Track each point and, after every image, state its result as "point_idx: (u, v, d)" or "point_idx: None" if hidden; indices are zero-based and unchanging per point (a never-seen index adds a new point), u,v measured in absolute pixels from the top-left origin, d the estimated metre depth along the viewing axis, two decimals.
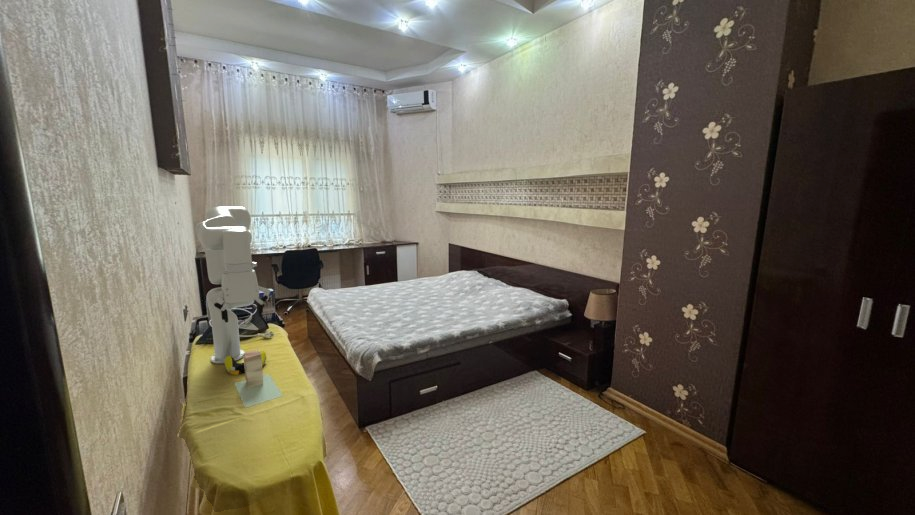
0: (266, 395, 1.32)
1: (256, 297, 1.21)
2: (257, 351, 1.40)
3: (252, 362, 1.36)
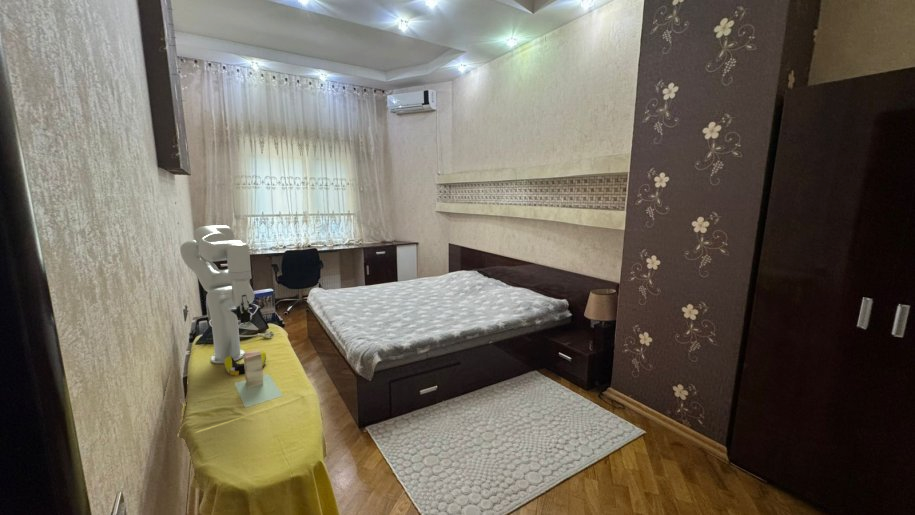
0: (266, 395, 1.32)
1: None
2: (257, 351, 1.40)
3: (252, 362, 1.36)
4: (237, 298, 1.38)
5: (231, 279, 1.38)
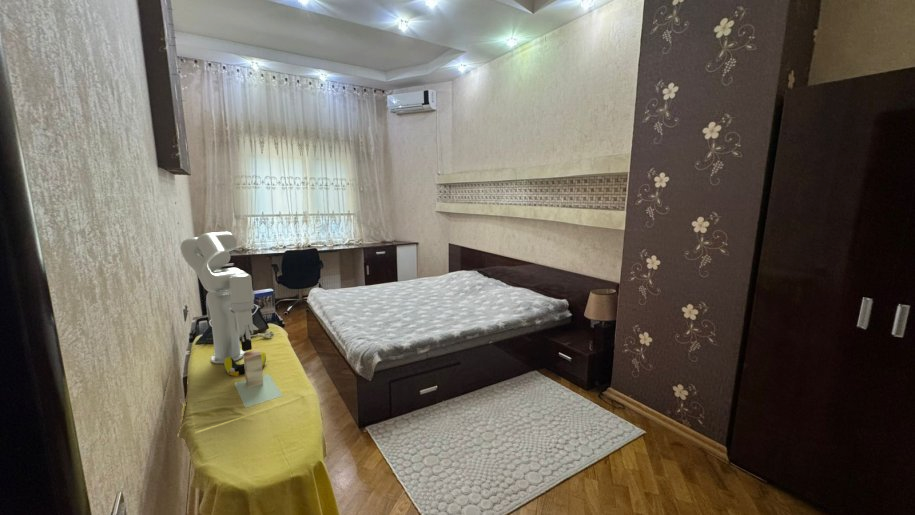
0: (266, 395, 1.32)
1: None
2: (257, 351, 1.40)
3: (252, 362, 1.36)
4: (240, 328, 1.39)
5: (234, 310, 1.40)
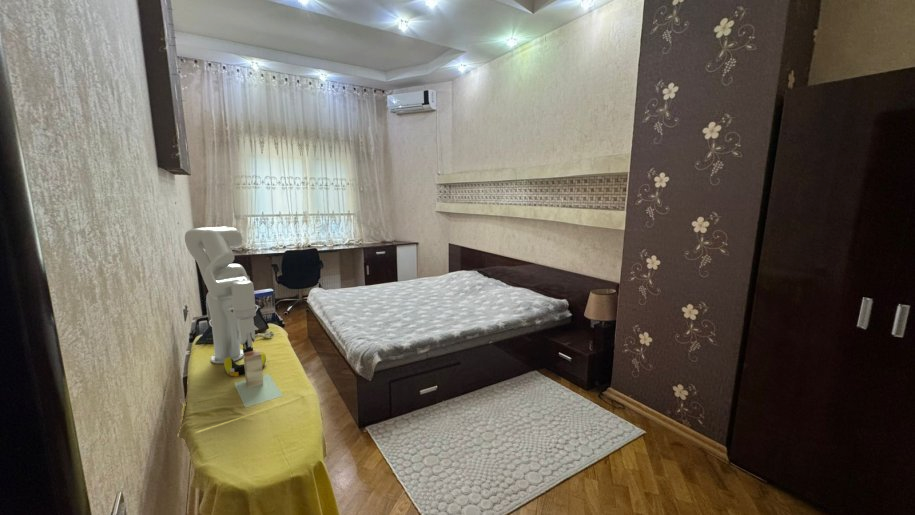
0: (266, 395, 1.32)
1: None
2: (257, 351, 1.40)
3: (252, 362, 1.36)
4: (242, 336, 1.38)
5: (236, 317, 1.38)
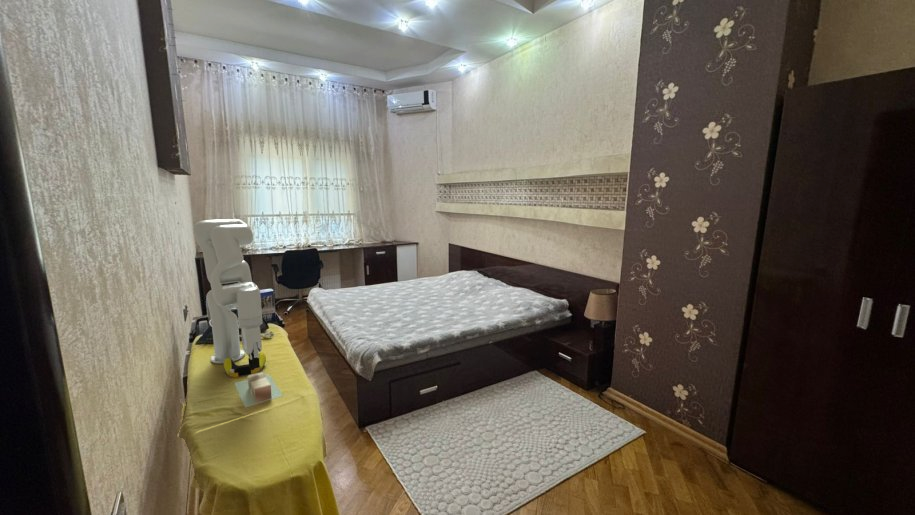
0: None
1: None
2: (269, 388, 1.29)
3: None
4: (248, 346, 1.30)
5: (241, 326, 1.30)
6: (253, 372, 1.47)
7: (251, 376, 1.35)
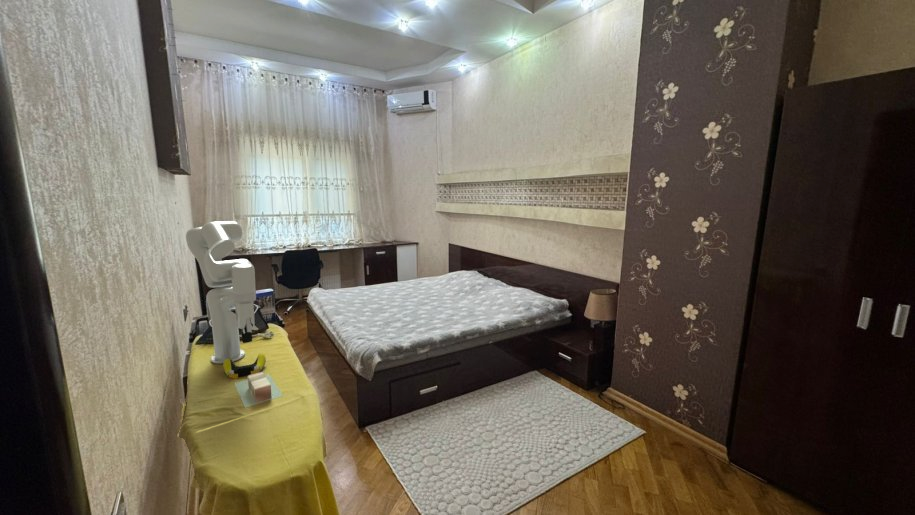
0: None
1: None
2: (269, 388, 1.29)
3: None
4: (241, 321, 1.35)
5: (235, 301, 1.35)
6: (253, 373, 1.46)
7: (251, 376, 1.35)
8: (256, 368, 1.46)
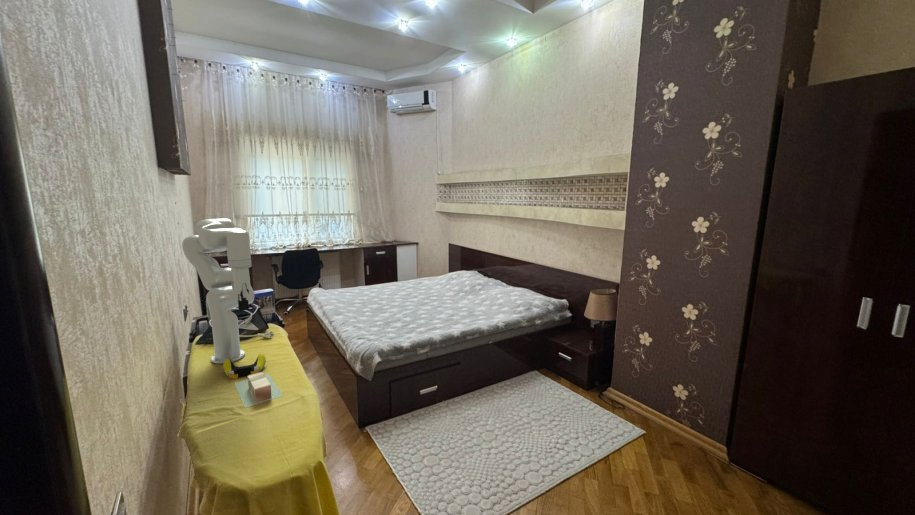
0: None
1: None
2: (269, 388, 1.29)
3: None
4: (237, 286, 1.35)
5: (231, 267, 1.35)
6: (253, 373, 1.45)
7: (251, 376, 1.35)
8: (256, 368, 1.46)
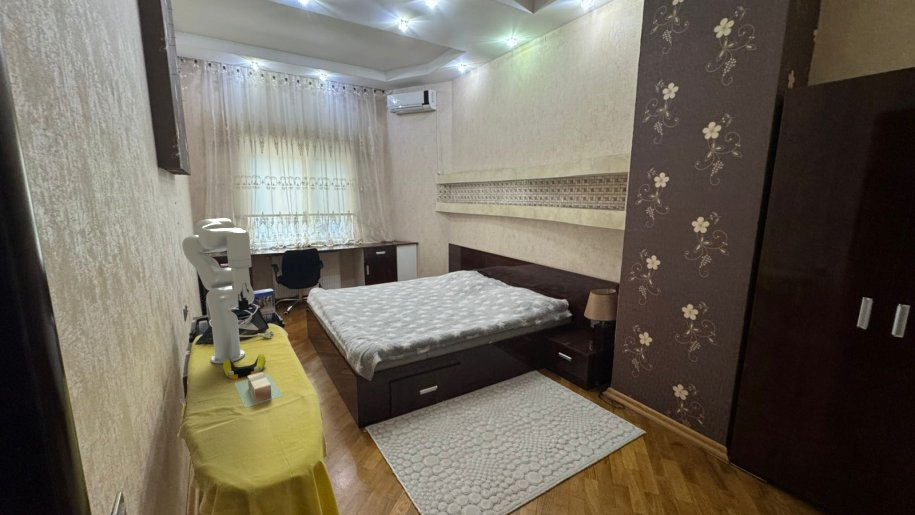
0: None
1: None
2: (269, 388, 1.29)
3: None
4: (237, 286, 1.35)
5: (231, 267, 1.35)
6: None
7: (251, 376, 1.35)
8: (256, 369, 1.46)
